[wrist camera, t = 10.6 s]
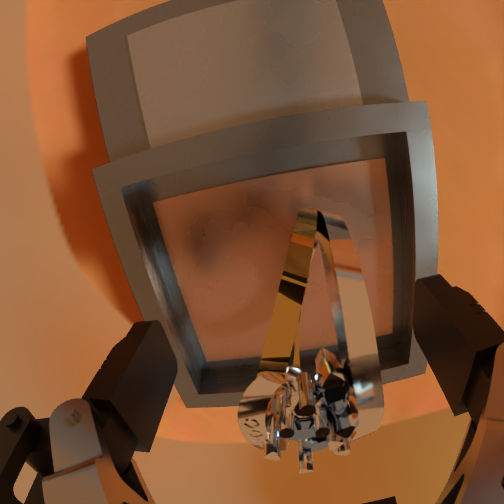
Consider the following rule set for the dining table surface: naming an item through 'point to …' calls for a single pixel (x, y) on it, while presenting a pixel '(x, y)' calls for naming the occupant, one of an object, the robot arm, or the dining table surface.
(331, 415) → the ring
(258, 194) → the grey tray
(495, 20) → the dining table surface
